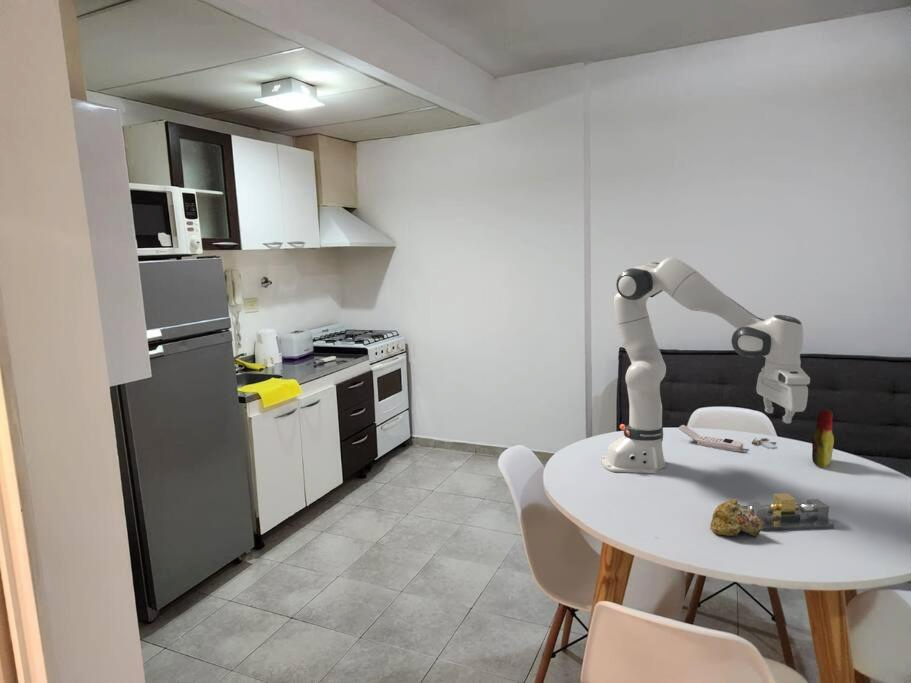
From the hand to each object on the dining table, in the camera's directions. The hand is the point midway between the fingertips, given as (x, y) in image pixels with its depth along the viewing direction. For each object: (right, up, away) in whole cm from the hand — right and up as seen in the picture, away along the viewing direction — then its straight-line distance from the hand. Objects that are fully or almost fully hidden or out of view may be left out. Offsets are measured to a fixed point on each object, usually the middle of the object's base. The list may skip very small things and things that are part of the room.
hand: (777, 417), depth 166 cm
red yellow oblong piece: (+34, -21, +32) cm, 51 cm away
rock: (-19, -30, -12) cm, 38 cm away
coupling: (-1, -27, -5) cm, 28 cm away
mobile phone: (+5, -19, +54) cm, 58 cm away
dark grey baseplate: (-1, -28, -5) cm, 29 cm away
